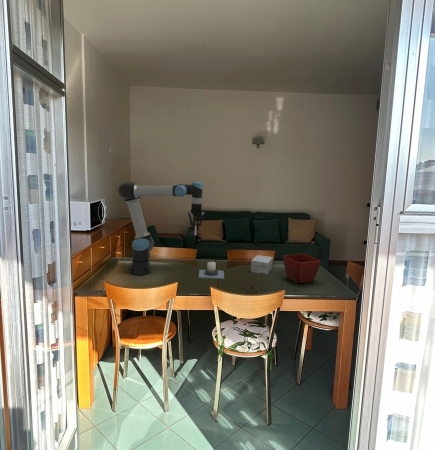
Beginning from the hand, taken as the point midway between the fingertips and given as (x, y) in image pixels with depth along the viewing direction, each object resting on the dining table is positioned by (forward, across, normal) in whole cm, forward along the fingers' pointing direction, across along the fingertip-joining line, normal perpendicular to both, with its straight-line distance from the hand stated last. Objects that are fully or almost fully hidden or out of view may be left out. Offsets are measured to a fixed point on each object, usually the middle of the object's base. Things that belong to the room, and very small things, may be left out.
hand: (195, 234), depth 250 cm
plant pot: (+27, +76, -16) cm, 82 cm away
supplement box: (+27, +52, +5) cm, 58 cm away
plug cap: (+25, +13, -12) cm, 31 cm away
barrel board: (+26, +13, -12) cm, 32 cm away
